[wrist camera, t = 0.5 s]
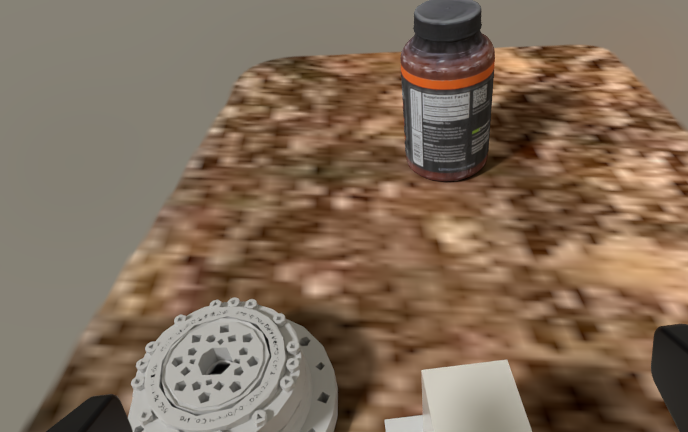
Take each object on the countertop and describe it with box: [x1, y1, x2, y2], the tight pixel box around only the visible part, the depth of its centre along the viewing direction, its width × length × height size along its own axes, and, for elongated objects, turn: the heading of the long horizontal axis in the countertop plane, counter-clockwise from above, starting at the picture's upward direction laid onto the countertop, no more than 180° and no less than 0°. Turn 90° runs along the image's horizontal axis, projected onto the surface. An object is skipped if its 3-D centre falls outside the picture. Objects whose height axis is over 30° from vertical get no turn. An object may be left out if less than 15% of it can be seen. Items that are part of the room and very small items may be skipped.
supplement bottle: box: [401, 0, 495, 181], centre depth 36 cm, size 6×6×11 cm
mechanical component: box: [128, 298, 338, 432], centre depth 25 cm, size 10×4×10 cm
